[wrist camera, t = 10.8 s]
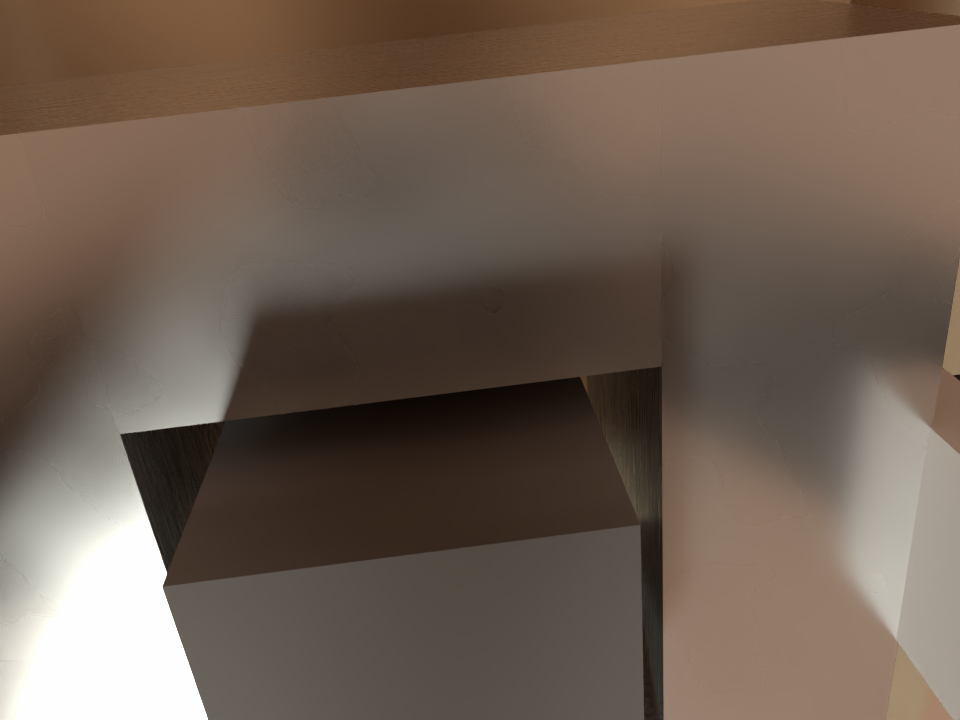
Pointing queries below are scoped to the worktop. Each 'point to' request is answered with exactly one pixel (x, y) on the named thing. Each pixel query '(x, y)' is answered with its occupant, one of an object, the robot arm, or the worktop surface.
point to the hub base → (384, 463)
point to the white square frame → (496, 317)
